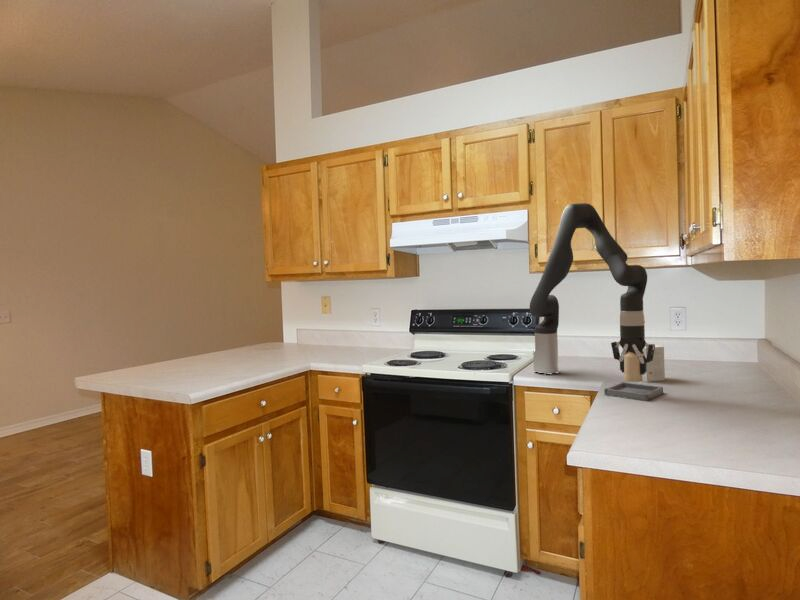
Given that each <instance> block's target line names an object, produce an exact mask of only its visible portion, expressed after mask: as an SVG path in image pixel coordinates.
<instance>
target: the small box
mask: <svg viewBox="0 0 800 600" xmlns="http://www.w3.org/2000/svg"><path fill="white" fill-rule="evenodd" d="M654 345H655V350H654V355H653V360H652V361H650V362H647V364H646V366H647V371H646V373H645V374H643V375H642V381H641V382H645V383H648V382H650V383H651V382H659V381H665V380H666V375H665V374H666V373H665V346H663V345H657V344H654ZM643 351H644V354H645V357H646V358H647V352H648V350H647V349H646V346H645V347H644V349H643Z"/></svg>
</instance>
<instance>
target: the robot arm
mask: <svg viewBox="0 0 800 600" xmlns="http://www.w3.org/2000/svg"><path fill="white" fill-rule="evenodd" d="M577 229H586V230H587V231H588V232H590V234H592V236H593V239H594V242H595V243H594V244H595V248H596V249H595V250H596V251H597V253H598V254H599V256H600V258H602V260H603V261H604V263H605V264H606V265H608V266H607V267H608V269H609V271H610V274H611V275H612V277H613V279H614V281H615V282H616V283H617V284H618V285H620V286H623V287H627V290H626V292H624V293H622V294H621V295H620V300H619V303H620V304H619V305H620V308H619V309H620V311H619V312H620V313H619V333H620V334H619V337H620V340H619V341H613V342H612V341H611V343H610V344H611V345H610V346H611V349H612V355H613V359H614V360H617V361H618V362H619V370H620V371H621V373H623V374H624V355H625V354H626V353H627V352H633V353H635V354H636V355H637V357H639V360H640V362H641V364H640V374H641V375H643V374H645V373H646V371H647V366H646V364H647V362H650V361H652V360H653V355H654V350H655V345H656V344H654V343H648V342H647V341H646V339H645V338H646V337H645V336H646V335H645V331H646V330H645V322H646V321H645V313H644V295H645V293H646V289H647V288H646V287H647V284H648V273H647V270H646V268H645V267H644V266H642V265H639V264H634V265H633V264H631V265H629V264H628V263H627V261H628V254H627V252H625V250H624V249H623V248H622V247H621V245H620V244H619V243H618V242H617V240H616V239H615V238H614V237H613V236H612V235H611V233H610V231H609V229H607V227H606V225H605V223H604V222H603V219H602V218H601V216H600V215H599V213H598V212H597V210H596V208H595V207H594V206H593V205H592V204H591V203H586V202H585V203H584V202H583V203H582V202H581V203H578V202H577V203H571V204H567V206H565V208H564V209H563V211H562V214H561V217H560V221H559V224H558V230H557V233H556V235H555V238H554V239H555V240H554V242H553V246H552V248H551V252H550V253H549V256H548V259H547V262H546V265H545V267H544V270H543V273H542V274H541V278H540V280H539V282H538V285H537V287H536V288H535V291H534V293H533V295H532V297H531V299H530V302H529V312H530V315H532V316H533V317H535V318H543V320H542V322H540V323H538V324H536V325H535V326H534V348H535V349H534V350H532V351H533V353H532V355H533V372H534V371H537V372H542V373H556V372H558V373H559V347H558V328H559V324H560V323H559V321H560V320H559V318H560V303H559V301H558V300H559V299H558V298H557V297H556V296H555V295H553V294H551V293H552V291H553V290H554V289H555V288H556V287H557V286H558V285H559V284H561V282H562V281H564V279H565V278H566V277H567V276H568V275H569V272H570V270H571V268H572V265H573V262H574V254H573V253H574V252H573V248H572V239H573V237H574V234H575V232H576V230H577ZM645 346H646V349H647V350H648V352H647V358H646V357H645V354H644V351H643V349H644V347H645ZM620 347H621V349H622V351H621V353H620V350H619V349H620Z"/></svg>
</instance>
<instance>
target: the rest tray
mask: <svg viewBox="0 0 800 600" xmlns="http://www.w3.org/2000/svg"><path fill="white" fill-rule="evenodd" d="M603 391H604V395H605V396H609V395H613V396H612V397H616V396H620V397H619V398H623V397H626V398H625V399H630V398H632V399H631V400H637V399H638V401H644V402H649V401H651V400H653V399H654V398H657V397H658V396H661V394H663V393H664V386H656V385H649V384H648V385H647V384H640V383H639V384H638V383H633V382H626V381H620V382H618V383H616V384H615V383H614V384H613V385H611V386H608V387H606V388H604V390H603Z"/></svg>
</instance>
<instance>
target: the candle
mask: <svg viewBox="0 0 800 600" xmlns="http://www.w3.org/2000/svg"><path fill="white" fill-rule="evenodd" d="M640 364H641V362H640V360H639V357H637V355H636V354H635V353H633V352H627V353H626V354H625V355H624V373H623V374H624V376H623V377H624V378H623V379H624V381H625V382H629V383H633V382H635V383H639V382H643V381H642V375H641V374H640Z"/></svg>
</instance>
